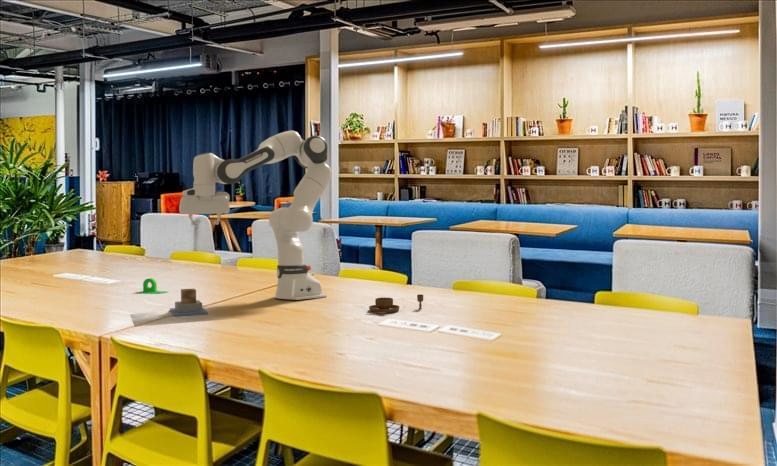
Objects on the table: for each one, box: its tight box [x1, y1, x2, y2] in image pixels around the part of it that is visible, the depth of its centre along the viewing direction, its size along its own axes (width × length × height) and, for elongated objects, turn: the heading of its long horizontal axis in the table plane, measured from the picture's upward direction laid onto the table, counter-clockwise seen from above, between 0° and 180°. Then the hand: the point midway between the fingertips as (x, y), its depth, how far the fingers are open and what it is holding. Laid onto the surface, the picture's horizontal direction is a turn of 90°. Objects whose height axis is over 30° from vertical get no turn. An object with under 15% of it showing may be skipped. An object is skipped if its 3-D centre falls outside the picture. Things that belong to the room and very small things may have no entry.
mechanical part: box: [139, 277, 170, 295], centre depth 305 cm, size 12×6×8 cm, turn 83°
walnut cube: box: [180, 288, 197, 304], centre depth 257 cm, size 5×5×5 cm
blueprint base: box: [169, 299, 209, 317], centre depth 257 cm, size 12×16×4 cm
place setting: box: [367, 294, 424, 315], centre depth 259 cm, size 18×20×6 cm
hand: (205, 224), depth 278 cm, fingers open, 8 cm apart
